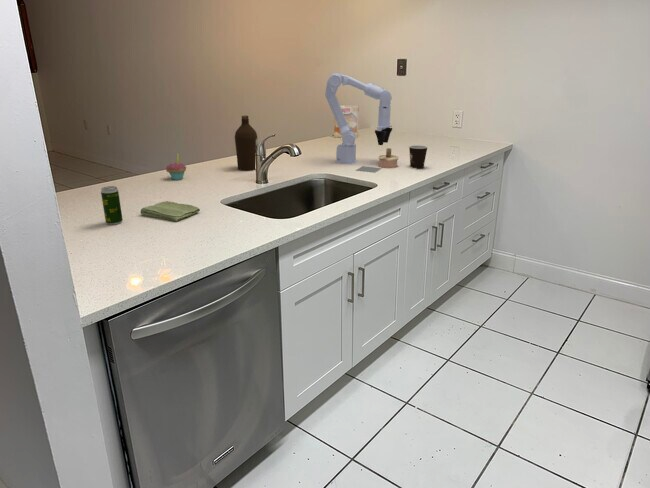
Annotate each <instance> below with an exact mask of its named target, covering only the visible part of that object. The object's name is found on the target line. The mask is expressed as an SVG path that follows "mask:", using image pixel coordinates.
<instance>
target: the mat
mask: <svg viewBox="0 0 650 488" xmlns="http://www.w3.org/2000/svg"><path fill="white" fill-rule="evenodd" d="M382 169H383V167H373V166H365V165H362V166H361V167H358V168H357V169H355V171H357V172H364V173H365V172H367V173H372V174H373V173H374V174H376V173H377V172H379V171H380V170H382Z"/></svg>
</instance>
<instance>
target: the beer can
mask: <svg viewBox="0 0 650 488" xmlns="http://www.w3.org/2000/svg"><path fill="white" fill-rule="evenodd" d="M100 190H101V191H100V196H101V201H102V209H103V214H104V219H105V220H104V221H105V223H106V224H107V225H109V226H116V225H117V226H118V225H120V224H122V223H123V213H122V212H123V211H122V206H121V201H120V194H119V189H118V187H117V186H115V185H111V186H109V185H108V186H103V187H101V189H100Z"/></svg>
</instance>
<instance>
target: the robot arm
mask: <svg viewBox="0 0 650 488" xmlns="http://www.w3.org/2000/svg"><path fill="white" fill-rule="evenodd" d="M341 85H342V86H351V87H354V88H356V89H357V90H358V89H359V90H360V91H363V92H364V95H366V96H368V97H370V98H372V99H375V100H377V101H378V100H379V105H378V118H377V119H378V121H377V127H376V129H375V130H374V133H375V136H376V138H377V139H376V140H377V144H378V146H383V145H384V143H386V144H388V143H389V139H390V135H391V132H392V131H393V125H392V124H391V110H392V109H391V107H392V106H391V101H392V94H391V92H390V91H389V90H388V89H385V87H379V86H378V85H376V84H375V82H372V83H370V82H369V83H367V84H366V83H364V82H362V81H360V80H357V79H356V78H353V77H351V76H349V75H346V74H342V73H339V72H333V73H332V74H330V76H329V77H328V79H327V81H326V87H325V93H324V95H325V99H326V101H327V102H328V105H329V107H330V110H331V112H332V114H333V116H334V117H335V119H336V121H337V123H338V126H339V128H340V131H341V134H342V137H341V138H342V143H341V144H338V145H337V146H336V150H335V151H336V153H335V154H336V158H335V159H336V160H335V163H337V164H346V165H355V164H356V163H358V162H359V160H357V159H356V158H357V155H356V154H357V143H355V141H356V138H355V133H354V132H353V131H352V130H351V129H350V127H349V125H348V123H347V120H346V118H345V116H344V114H343V111H342V109H341V107H340V106H341V105H340V102H339V100H338V98H337V96H336V94H337V92H338V89H339V87H340V86H341ZM334 117H333V118H334Z"/></svg>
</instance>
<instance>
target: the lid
mask: <svg viewBox="0 0 650 488" xmlns="http://www.w3.org/2000/svg"><path fill="white" fill-rule="evenodd" d="M379 159H380V160H385V161H394V160H397V161H398V160H399V156H397V155H393V154H392V148H386V152H385V154H382V155H379V156H378V160H379Z"/></svg>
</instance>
